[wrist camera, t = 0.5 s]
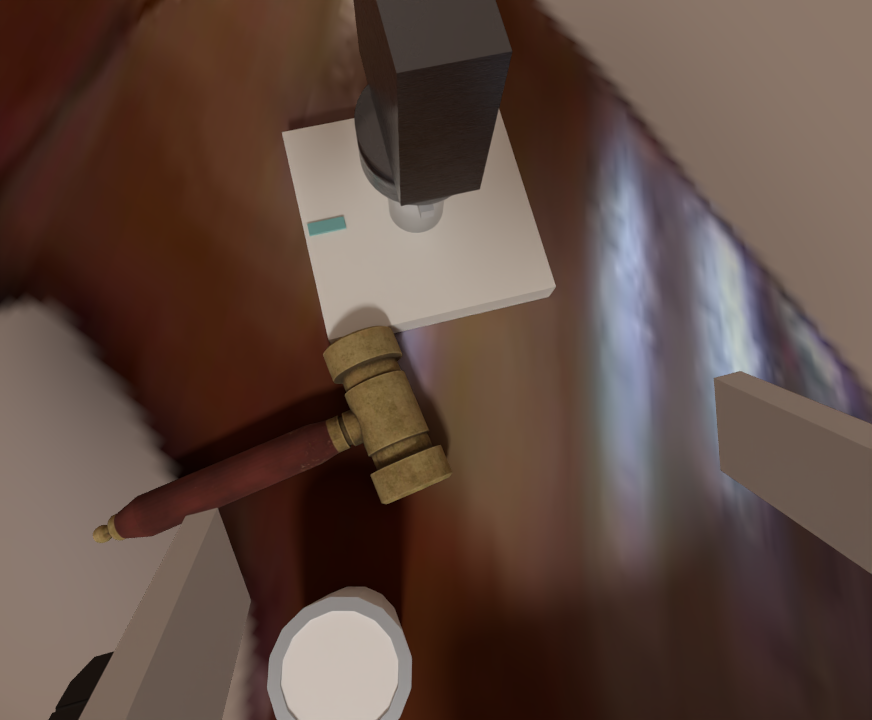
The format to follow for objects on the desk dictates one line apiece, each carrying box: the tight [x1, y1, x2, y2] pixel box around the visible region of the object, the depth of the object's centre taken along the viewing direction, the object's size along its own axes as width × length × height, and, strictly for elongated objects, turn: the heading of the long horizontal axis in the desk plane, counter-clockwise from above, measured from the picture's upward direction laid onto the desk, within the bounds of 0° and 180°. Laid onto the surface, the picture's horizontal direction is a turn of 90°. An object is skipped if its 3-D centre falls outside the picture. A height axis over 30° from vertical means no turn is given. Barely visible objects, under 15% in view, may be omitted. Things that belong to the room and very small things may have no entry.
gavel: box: [93, 326, 452, 543], centre depth 34 cm, size 21×5×10 cm
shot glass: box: [267, 587, 412, 720], centre depth 30 cm, size 7×7×7 cm
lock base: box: [282, 110, 556, 344], centre depth 36 cm, size 15×15×8 cm
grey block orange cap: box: [354, 0, 512, 206], centre depth 25 cm, size 9×6×13 cm
